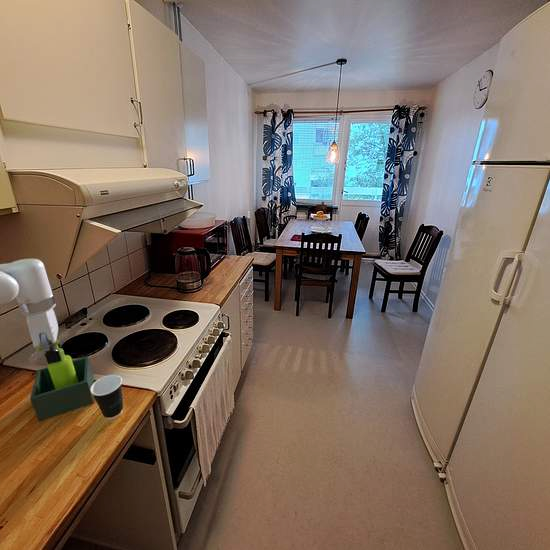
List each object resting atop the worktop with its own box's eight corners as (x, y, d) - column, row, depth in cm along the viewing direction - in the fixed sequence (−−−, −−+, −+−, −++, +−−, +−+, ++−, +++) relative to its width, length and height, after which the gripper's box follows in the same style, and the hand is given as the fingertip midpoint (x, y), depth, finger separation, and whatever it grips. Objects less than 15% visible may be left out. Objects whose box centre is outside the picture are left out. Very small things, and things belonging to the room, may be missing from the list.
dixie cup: (105, 403, 89) (98, 375, 85) (132, 401, 89) (126, 373, 85) (93, 425, 81) (84, 395, 77) (122, 423, 82) (115, 394, 78)
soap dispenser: (52, 396, 90) (33, 343, 82) (78, 384, 95) (62, 333, 87) (57, 406, 86) (38, 352, 79) (83, 394, 91) (67, 341, 83)
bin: (38, 421, 82) (29, 398, 79) (45, 390, 93) (37, 369, 90) (93, 403, 89) (87, 381, 85) (93, 376, 99) (88, 356, 96)
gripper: (26, 294, 83) (44, 347, 90) (13, 320, 70) (35, 379, 77) (57, 289, 87) (72, 340, 93) (50, 313, 73) (68, 370, 80)
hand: (55, 357), depth 85 cm, fingers closed on soap dispenser, 3 cm apart
